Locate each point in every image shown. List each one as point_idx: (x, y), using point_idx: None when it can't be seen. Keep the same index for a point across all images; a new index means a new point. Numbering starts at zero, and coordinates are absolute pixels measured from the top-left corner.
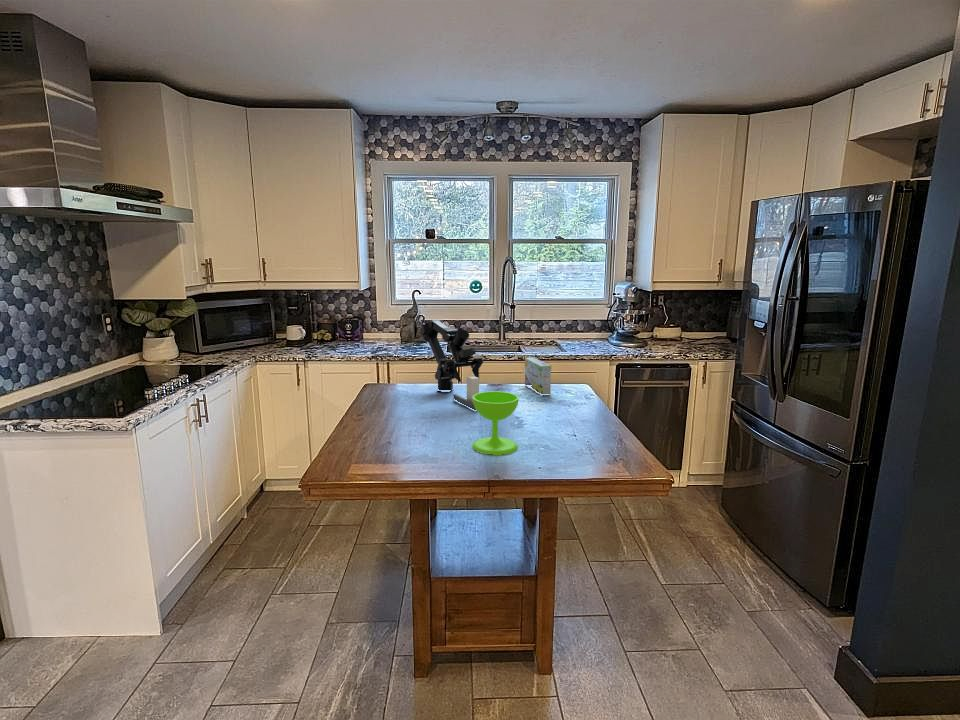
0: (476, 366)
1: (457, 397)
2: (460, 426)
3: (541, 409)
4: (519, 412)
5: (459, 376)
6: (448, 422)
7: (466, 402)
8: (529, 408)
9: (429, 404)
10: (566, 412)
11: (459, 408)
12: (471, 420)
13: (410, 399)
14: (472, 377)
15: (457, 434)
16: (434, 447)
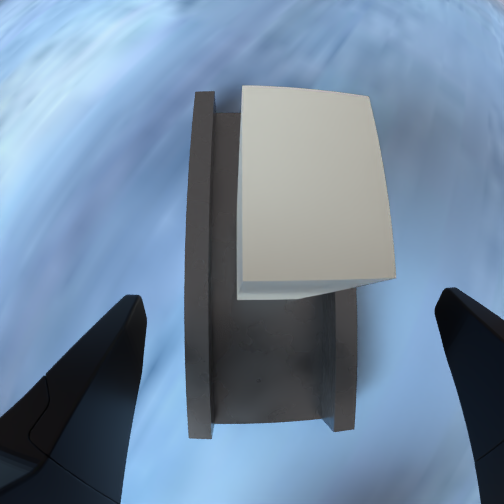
0: (12, 477)
1: (353, 361)
2: (431, 40)
3: (35, 55)
4: (128, 39)
5: (488, 323)
6: (464, 88)
7: None
8: (51, 74)
9: None
10: (20, 22)
11: None
12: (383, 51)
13: None
14: (324, 175)
15: (444, 14)
16: (487, 13)
